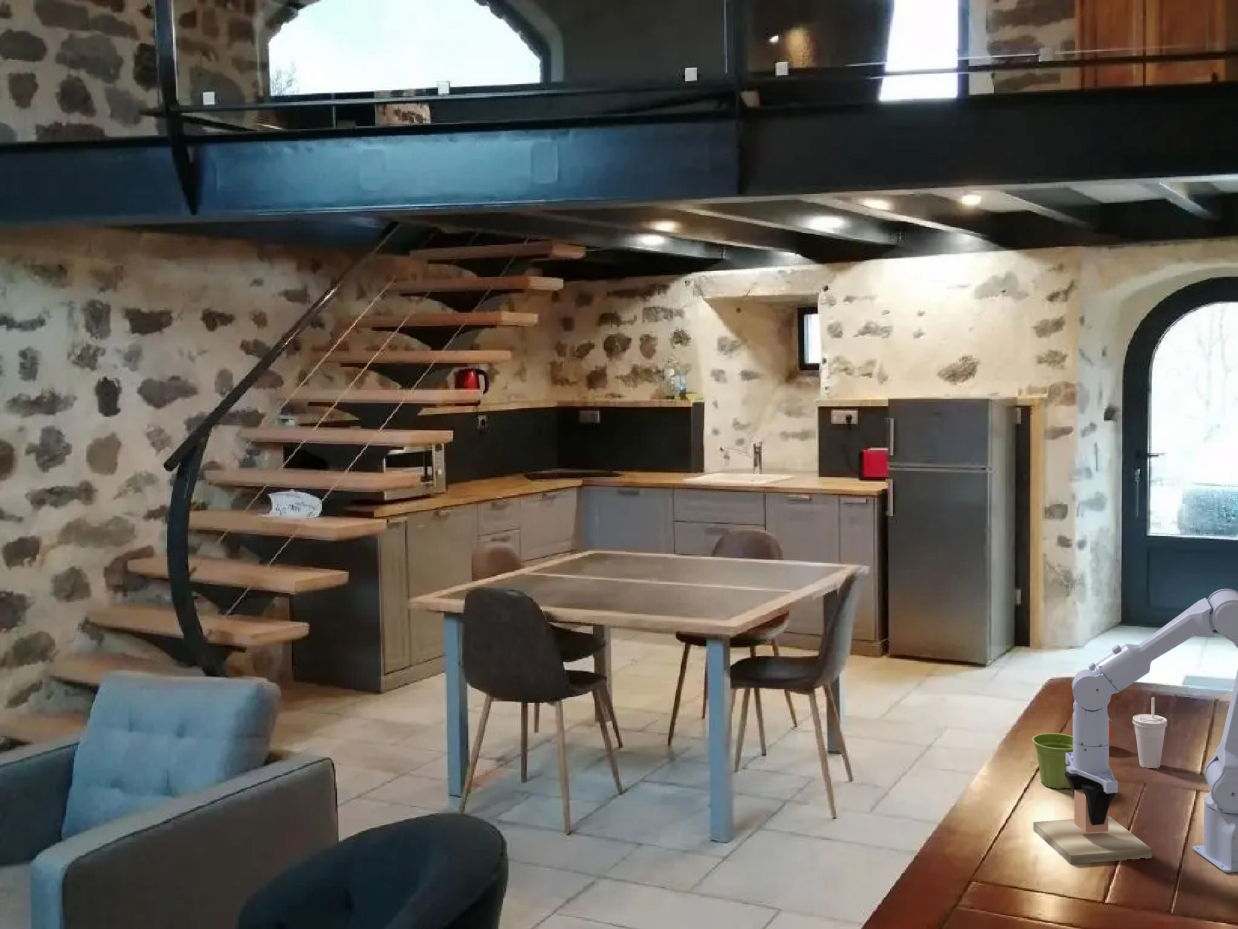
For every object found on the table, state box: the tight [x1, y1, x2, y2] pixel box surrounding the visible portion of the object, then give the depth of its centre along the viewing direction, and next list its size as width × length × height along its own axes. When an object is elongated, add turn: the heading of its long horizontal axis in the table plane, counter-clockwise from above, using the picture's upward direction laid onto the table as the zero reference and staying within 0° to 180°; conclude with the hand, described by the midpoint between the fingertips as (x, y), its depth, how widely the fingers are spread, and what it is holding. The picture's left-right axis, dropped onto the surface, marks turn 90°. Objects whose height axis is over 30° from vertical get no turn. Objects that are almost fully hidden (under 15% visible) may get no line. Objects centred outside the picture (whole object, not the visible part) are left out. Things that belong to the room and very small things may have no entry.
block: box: [1073, 789, 1109, 833], centre depth 200 cm, size 4×4×6 cm
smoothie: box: [1132, 696, 1168, 769], centre depth 235 cm, size 6×6×14 cm
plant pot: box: [1031, 732, 1073, 790], centre depth 227 cm, size 9×9×9 cm
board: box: [1033, 815, 1153, 865], centre depth 200 cm, size 14×14×2 cm
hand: (1090, 819), depth 200 cm, fingers closed on block, 4 cm apart
